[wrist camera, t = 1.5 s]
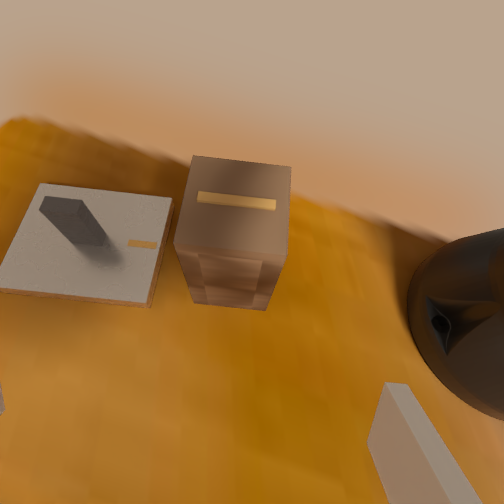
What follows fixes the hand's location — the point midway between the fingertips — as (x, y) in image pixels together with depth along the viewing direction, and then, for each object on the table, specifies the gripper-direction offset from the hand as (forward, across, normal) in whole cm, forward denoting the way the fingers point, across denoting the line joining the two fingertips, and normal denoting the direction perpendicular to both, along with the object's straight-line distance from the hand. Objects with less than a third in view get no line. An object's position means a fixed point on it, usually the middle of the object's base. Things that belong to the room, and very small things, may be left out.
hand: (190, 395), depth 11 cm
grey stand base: (+18, -12, -2) cm, 21 cm away
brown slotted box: (+17, +1, -2) cm, 17 cm away
